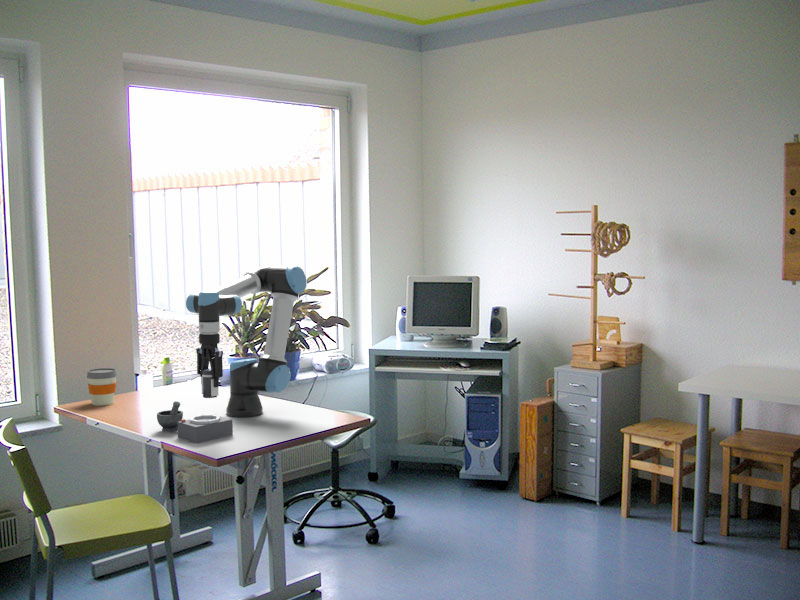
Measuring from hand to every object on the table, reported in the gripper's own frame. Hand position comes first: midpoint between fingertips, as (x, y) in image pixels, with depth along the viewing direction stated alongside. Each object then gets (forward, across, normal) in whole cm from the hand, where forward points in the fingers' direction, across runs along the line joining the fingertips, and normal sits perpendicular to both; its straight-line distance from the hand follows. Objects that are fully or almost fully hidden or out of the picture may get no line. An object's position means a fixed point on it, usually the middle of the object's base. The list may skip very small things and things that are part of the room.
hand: (210, 394), depth 287 cm
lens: (+1, 0, 0) cm, 1 cm away
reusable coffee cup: (+16, -84, +3) cm, 86 cm away
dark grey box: (+16, -2, -1) cm, 16 cm away
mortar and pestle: (+16, -19, -5) cm, 25 cm away
